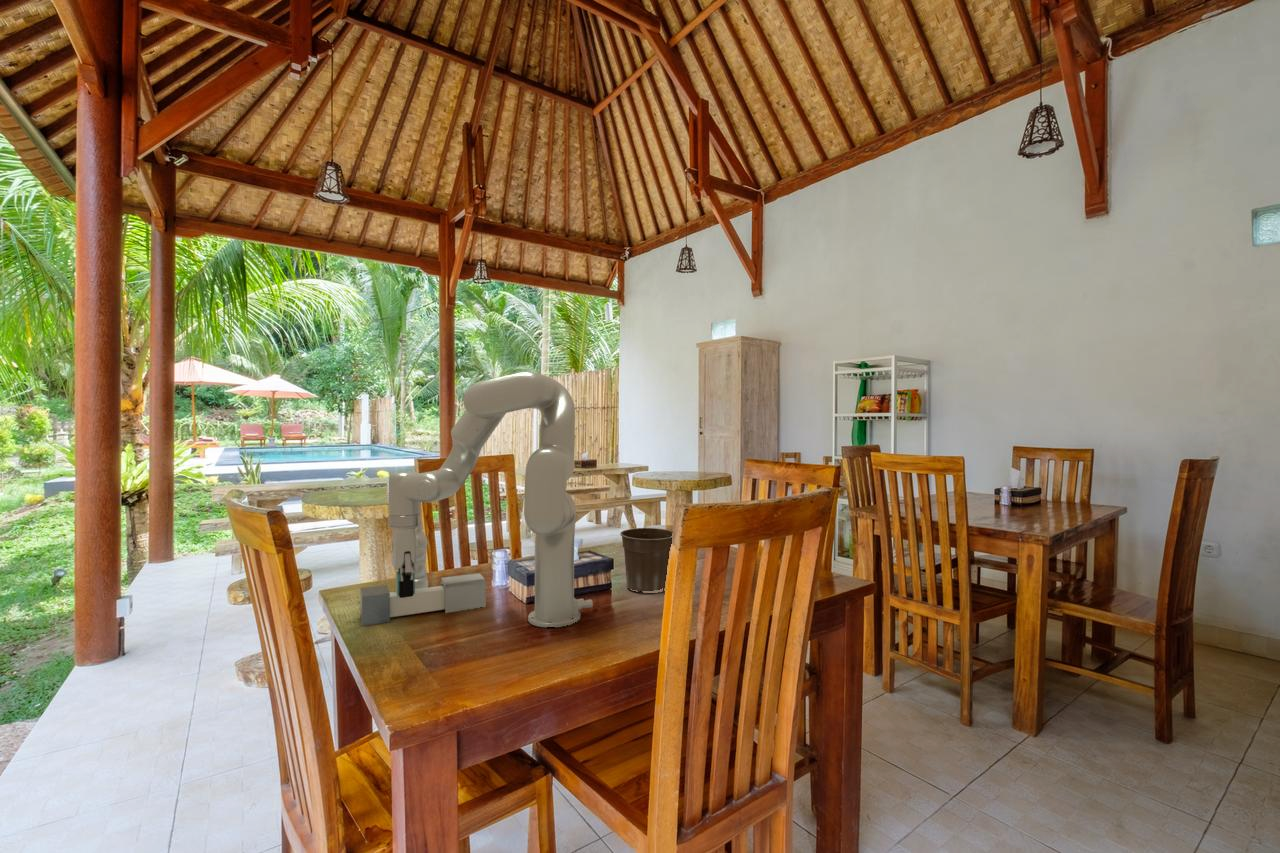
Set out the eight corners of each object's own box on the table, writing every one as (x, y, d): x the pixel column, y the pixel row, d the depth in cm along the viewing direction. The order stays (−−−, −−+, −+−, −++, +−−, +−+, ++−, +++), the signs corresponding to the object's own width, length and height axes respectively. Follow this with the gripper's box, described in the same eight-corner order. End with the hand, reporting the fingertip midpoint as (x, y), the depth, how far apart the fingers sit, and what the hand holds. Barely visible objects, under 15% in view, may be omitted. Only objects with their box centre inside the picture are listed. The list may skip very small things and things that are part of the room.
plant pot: (687, 591, 163) (687, 534, 163) (639, 600, 155) (639, 540, 154) (656, 577, 177) (656, 525, 177) (610, 585, 168) (610, 531, 168)
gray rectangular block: (479, 599, 155) (479, 573, 155) (485, 607, 149) (485, 579, 149) (440, 605, 150) (440, 577, 150) (445, 613, 144) (445, 584, 144)
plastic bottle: (432, 590, 163) (432, 520, 163) (421, 598, 156) (421, 525, 156) (411, 590, 164) (410, 520, 164) (398, 597, 157) (398, 524, 157)
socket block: (386, 612, 145) (386, 584, 144) (389, 622, 138) (389, 593, 137) (360, 616, 142) (360, 588, 142) (362, 626, 135) (362, 596, 135)
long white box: (453, 603, 150) (453, 565, 150) (456, 607, 147) (456, 568, 147) (371, 615, 141) (371, 574, 141) (372, 619, 138) (372, 578, 137)
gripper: (385, 517, 148) (386, 587, 148) (391, 527, 134) (392, 605, 134) (416, 515, 152) (416, 583, 152) (425, 525, 137) (425, 601, 137)
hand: (405, 593), depth 143 cm, fingers closed on long white box, 4 cm apart
